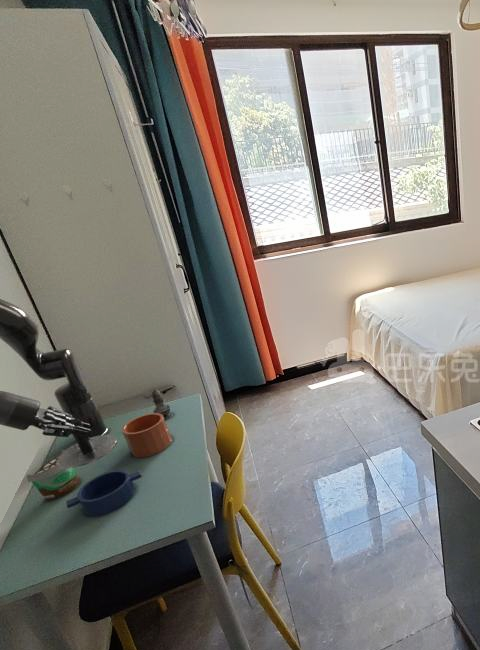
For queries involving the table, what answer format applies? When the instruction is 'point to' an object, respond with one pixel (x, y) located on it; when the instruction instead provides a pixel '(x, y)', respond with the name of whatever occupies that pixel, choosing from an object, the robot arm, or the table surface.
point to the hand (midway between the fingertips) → (88, 431)
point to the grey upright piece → (161, 405)
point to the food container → (54, 480)
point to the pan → (106, 492)
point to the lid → (86, 449)
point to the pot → (147, 435)
